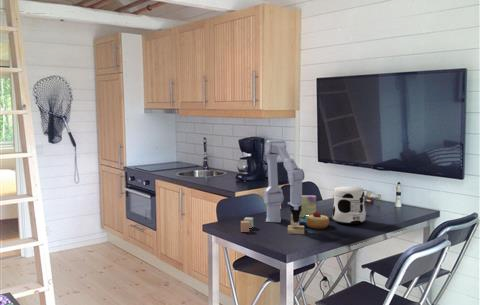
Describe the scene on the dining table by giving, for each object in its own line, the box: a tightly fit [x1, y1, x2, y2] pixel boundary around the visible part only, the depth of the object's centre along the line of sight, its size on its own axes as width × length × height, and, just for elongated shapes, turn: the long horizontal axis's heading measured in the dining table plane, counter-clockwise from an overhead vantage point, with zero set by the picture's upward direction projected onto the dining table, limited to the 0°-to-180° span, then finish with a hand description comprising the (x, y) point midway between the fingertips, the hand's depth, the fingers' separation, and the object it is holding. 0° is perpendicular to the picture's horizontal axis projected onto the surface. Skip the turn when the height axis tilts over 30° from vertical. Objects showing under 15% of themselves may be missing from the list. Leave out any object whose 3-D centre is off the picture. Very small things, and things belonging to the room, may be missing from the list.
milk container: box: [331, 185, 367, 225], centre depth 234 cm, size 17×17×18 cm
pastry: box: [305, 209, 330, 230], centre depth 227 cm, size 12×12×9 cm
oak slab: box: [287, 224, 305, 235], centre depth 218 cm, size 8×8×2 cm
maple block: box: [290, 213, 300, 226], centre depth 217 cm, size 4×4×5 cm
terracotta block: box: [240, 220, 250, 233], centre depth 218 cm, size 4×4×5 cm
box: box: [299, 194, 317, 218], centre depth 248 cm, size 10×6×12 cm, turn 84°
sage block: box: [243, 216, 254, 229], centre depth 225 cm, size 4×4×5 cm
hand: (296, 221), depth 217 cm, fingers closed on maple block, 4 cm apart
